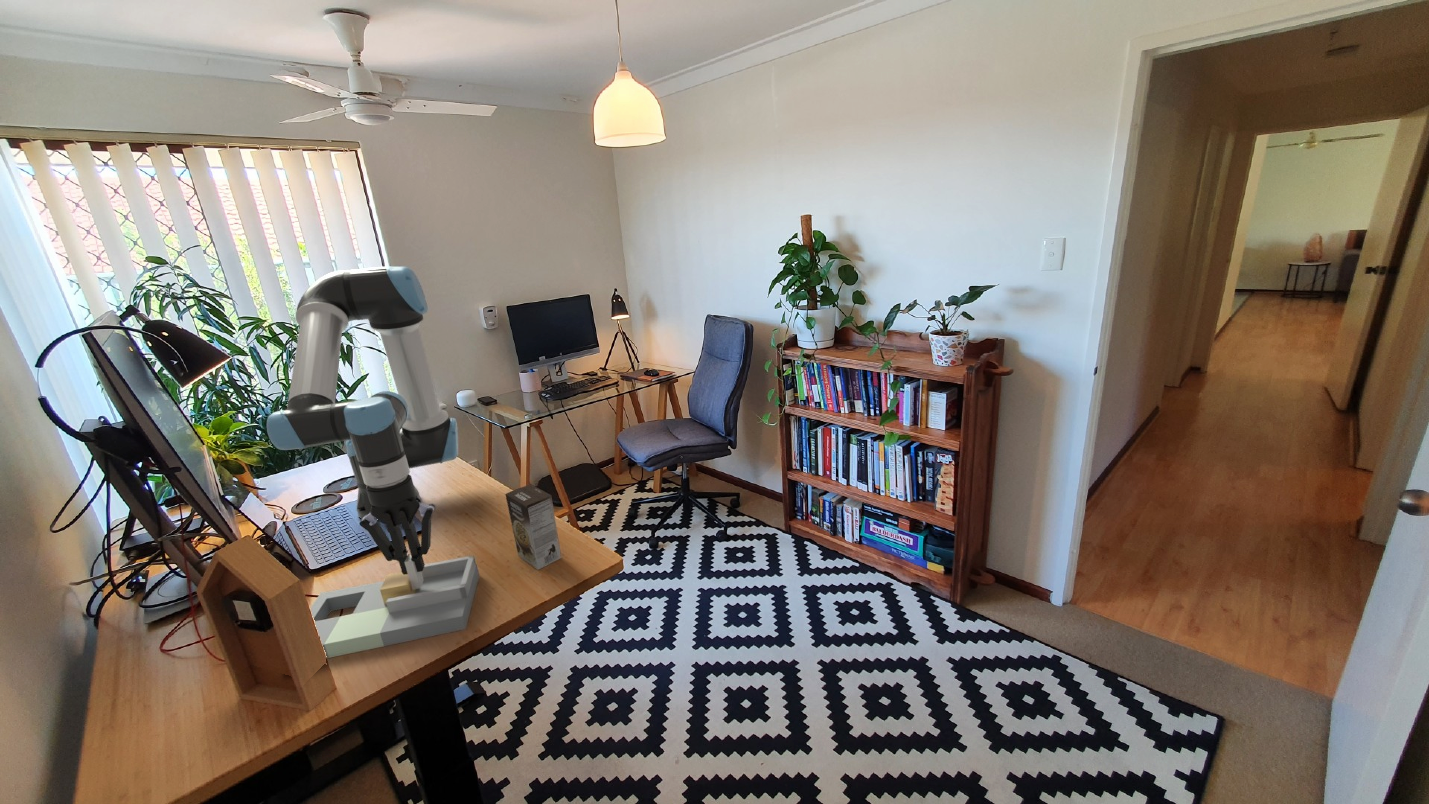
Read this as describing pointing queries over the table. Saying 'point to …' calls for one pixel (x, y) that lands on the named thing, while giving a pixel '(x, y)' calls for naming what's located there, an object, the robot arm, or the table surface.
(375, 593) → the tray
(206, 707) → the table surface
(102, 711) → the table surface
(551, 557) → the coffee box
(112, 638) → the table surface
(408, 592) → the ochre block
